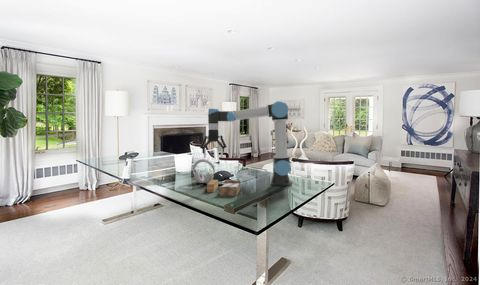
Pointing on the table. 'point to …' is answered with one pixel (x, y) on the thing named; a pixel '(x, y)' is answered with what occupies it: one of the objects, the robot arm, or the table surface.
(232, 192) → the stand
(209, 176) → the headphones
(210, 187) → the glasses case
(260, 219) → the table surface
